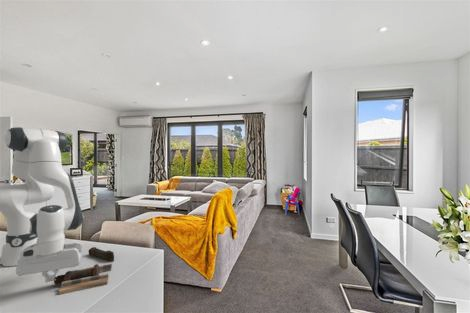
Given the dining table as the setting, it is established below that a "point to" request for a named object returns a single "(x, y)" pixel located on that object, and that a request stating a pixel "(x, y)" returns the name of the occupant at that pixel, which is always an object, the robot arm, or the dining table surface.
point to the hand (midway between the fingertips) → (50, 280)
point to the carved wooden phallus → (102, 254)
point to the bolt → (77, 275)
